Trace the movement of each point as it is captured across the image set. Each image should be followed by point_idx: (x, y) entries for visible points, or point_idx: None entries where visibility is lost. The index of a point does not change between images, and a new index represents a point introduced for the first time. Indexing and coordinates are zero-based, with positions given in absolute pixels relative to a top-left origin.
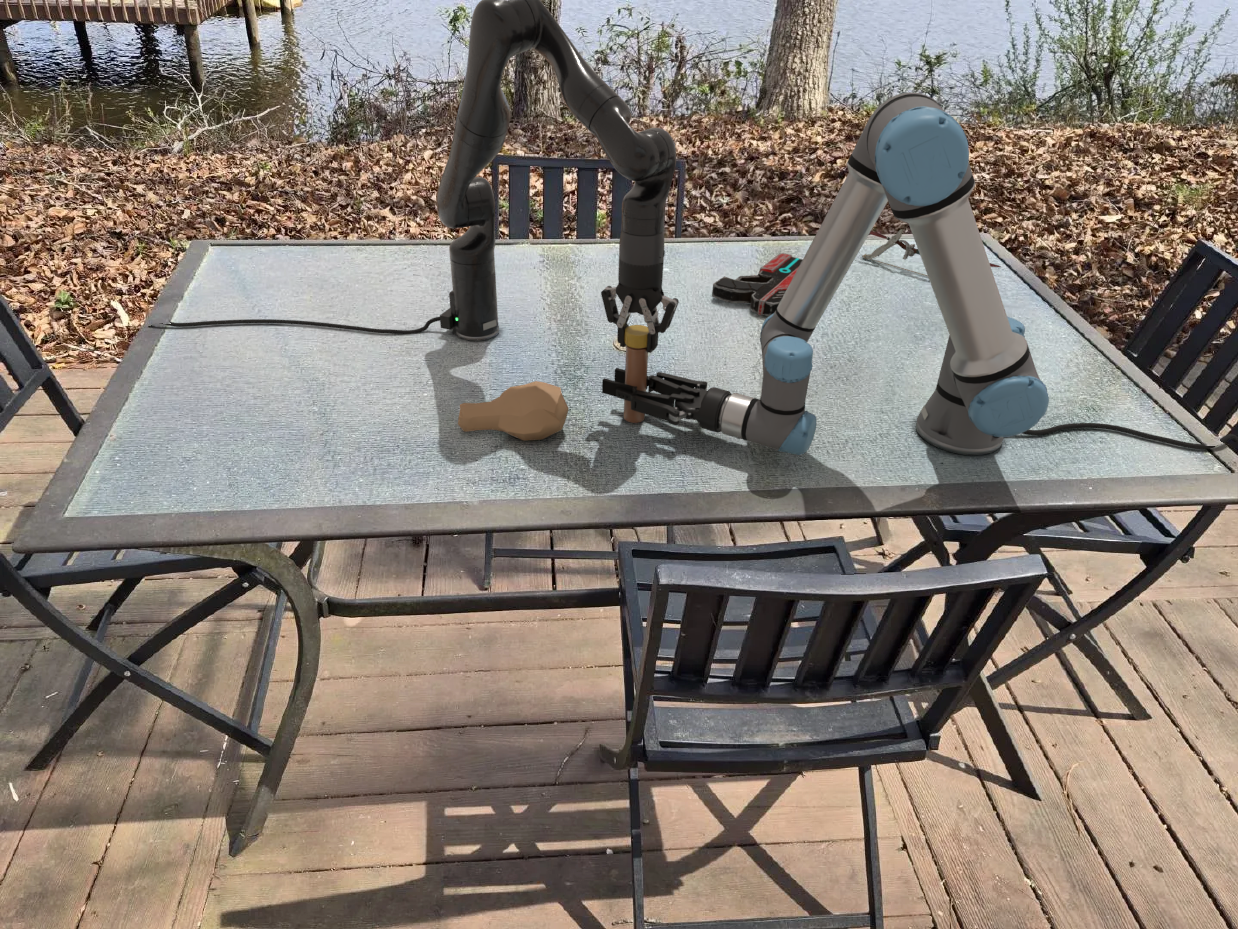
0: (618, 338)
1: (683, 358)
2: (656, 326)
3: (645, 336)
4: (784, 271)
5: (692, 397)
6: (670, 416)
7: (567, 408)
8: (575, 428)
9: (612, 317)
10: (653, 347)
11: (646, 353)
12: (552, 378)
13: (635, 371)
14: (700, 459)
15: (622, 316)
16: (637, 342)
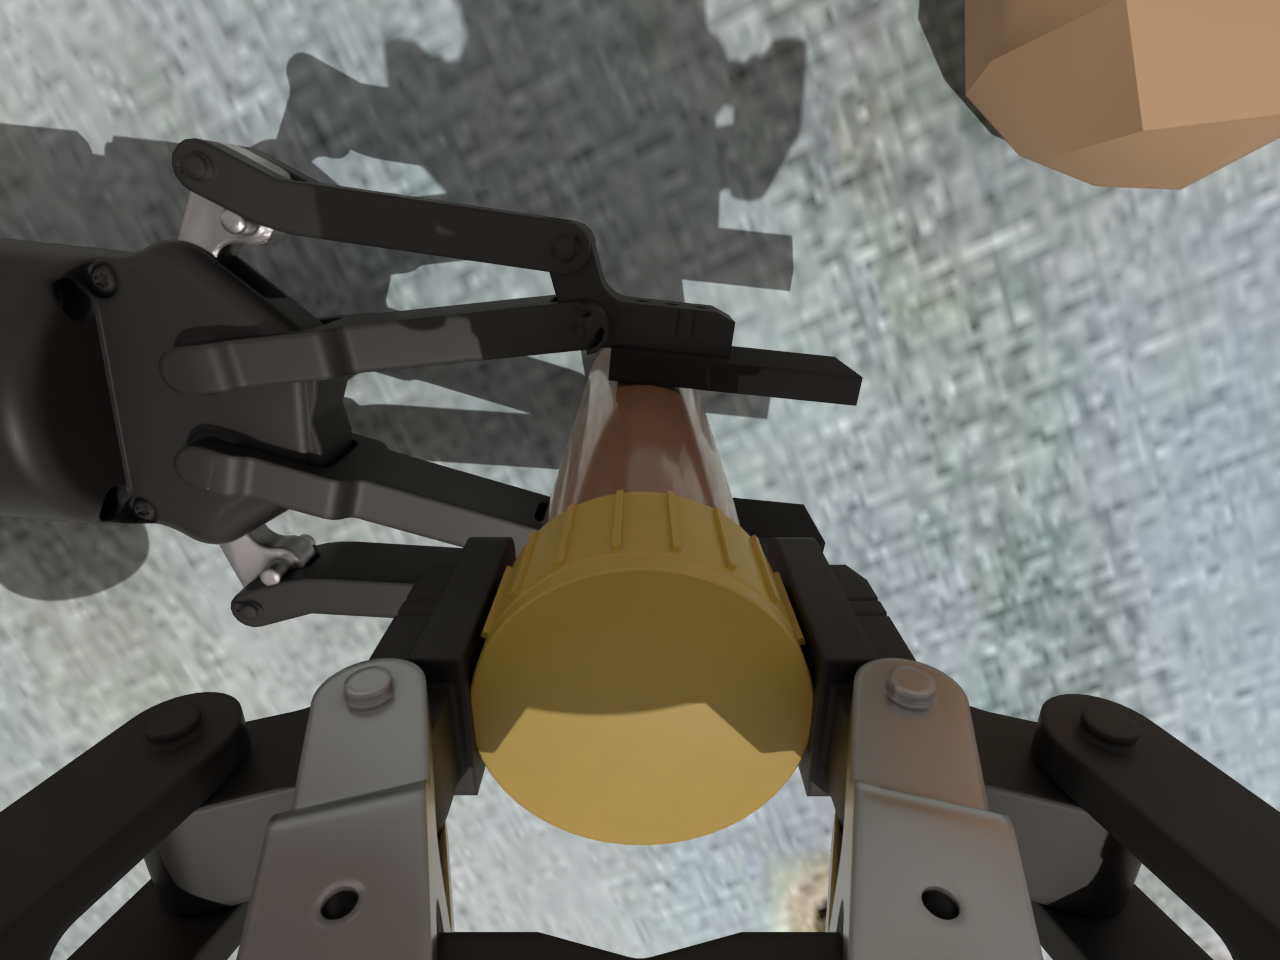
0: (859, 592)
1: (630, 897)
2: (289, 779)
3: (495, 626)
4: None
5: (169, 370)
6: (261, 161)
7: (1000, 35)
8: (893, 148)
9: (1100, 766)
10: (435, 580)
11: None
12: (1136, 563)
13: (615, 421)
14: (164, 137)
15: (926, 794)
16: (585, 531)
